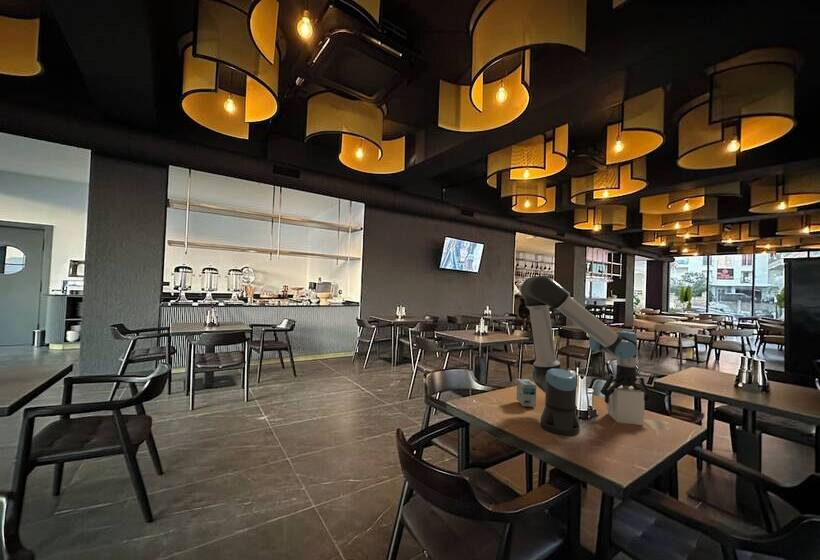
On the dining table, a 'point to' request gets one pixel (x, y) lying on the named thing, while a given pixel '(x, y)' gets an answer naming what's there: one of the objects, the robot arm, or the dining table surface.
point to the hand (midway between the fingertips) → (625, 412)
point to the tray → (656, 424)
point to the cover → (627, 405)
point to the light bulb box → (526, 392)
